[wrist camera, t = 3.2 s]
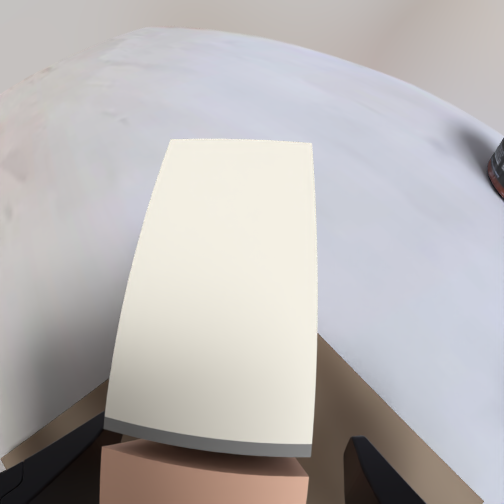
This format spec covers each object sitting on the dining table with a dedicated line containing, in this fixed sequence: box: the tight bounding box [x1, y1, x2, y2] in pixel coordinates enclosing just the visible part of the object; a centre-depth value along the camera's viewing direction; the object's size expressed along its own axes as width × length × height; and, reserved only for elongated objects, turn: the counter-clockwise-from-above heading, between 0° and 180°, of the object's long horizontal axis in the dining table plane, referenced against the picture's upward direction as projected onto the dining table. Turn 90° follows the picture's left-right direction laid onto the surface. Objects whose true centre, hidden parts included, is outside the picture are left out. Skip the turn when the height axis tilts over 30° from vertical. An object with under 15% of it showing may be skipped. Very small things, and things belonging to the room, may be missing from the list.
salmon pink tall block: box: [100, 439, 309, 504], centre depth 7 cm, size 3×3×10 cm
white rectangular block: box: [103, 139, 318, 457], centre depth 9 cm, size 6×3×10 cm, turn 176°
